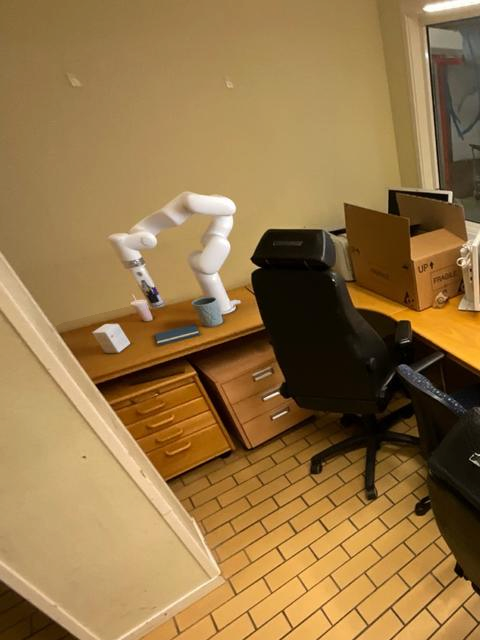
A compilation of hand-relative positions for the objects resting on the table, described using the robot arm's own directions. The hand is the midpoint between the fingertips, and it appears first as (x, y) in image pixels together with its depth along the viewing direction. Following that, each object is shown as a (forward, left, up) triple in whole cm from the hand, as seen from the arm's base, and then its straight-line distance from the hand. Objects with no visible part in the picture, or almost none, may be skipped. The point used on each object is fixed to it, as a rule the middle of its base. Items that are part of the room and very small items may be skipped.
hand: (154, 299), depth 184 cm
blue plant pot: (-18, +9, -14) cm, 25 cm away
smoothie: (+7, -15, -14) cm, 22 cm away
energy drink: (0, 0, -3) cm, 3 cm away
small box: (+20, +11, -14) cm, 27 cm away
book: (-2, +13, -14) cm, 19 cm away
